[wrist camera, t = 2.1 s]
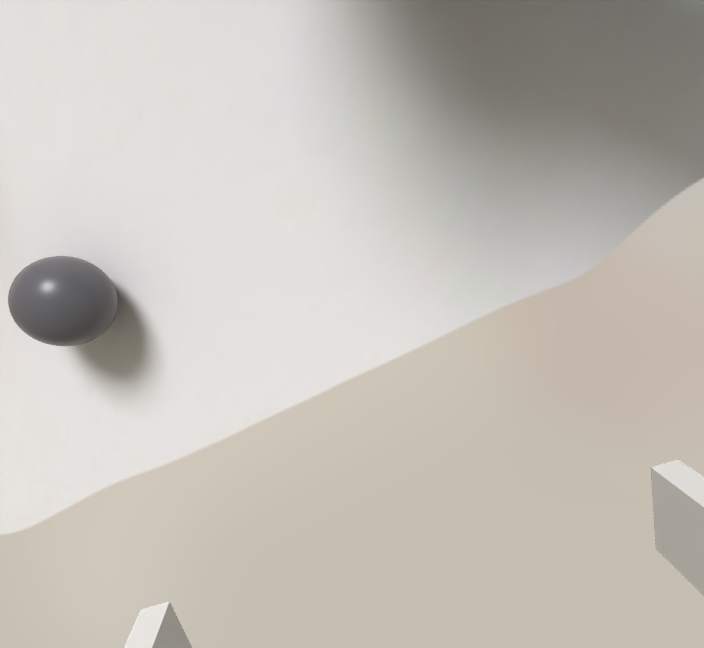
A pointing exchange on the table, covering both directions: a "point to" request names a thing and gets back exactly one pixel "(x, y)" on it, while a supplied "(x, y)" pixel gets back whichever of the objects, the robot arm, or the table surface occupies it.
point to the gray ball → (62, 301)
